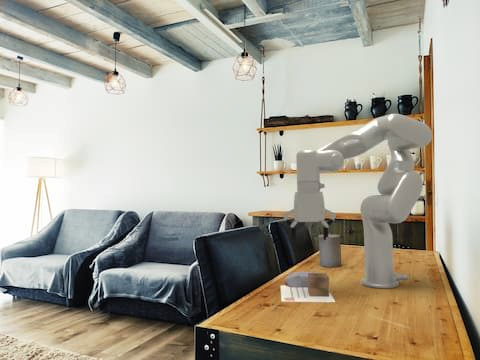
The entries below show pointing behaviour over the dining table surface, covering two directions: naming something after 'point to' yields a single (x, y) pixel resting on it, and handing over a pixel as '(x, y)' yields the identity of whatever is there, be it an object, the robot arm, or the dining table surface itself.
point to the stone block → (298, 279)
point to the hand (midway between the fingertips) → (309, 239)
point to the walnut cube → (318, 284)
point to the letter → (301, 295)
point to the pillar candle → (330, 250)
